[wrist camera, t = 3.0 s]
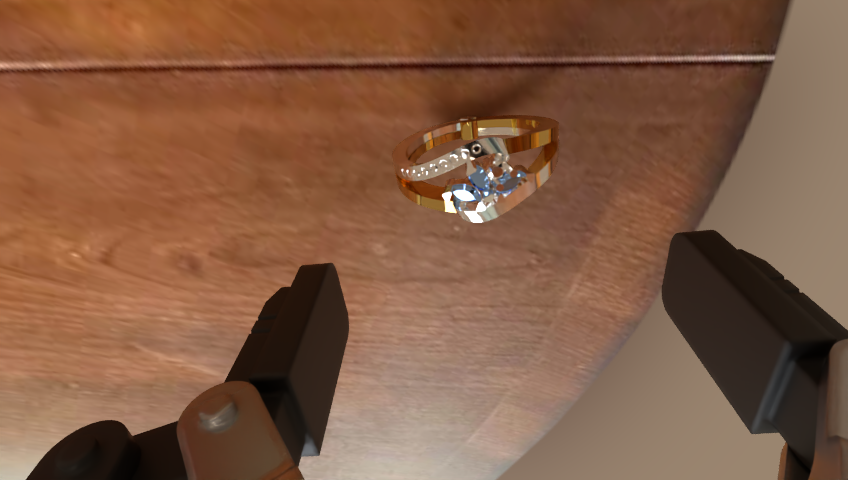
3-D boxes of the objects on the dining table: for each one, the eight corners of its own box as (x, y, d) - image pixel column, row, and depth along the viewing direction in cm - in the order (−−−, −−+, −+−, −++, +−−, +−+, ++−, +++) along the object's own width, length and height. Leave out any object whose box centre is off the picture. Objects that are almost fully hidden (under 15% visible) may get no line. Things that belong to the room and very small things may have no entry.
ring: (538, 82, 21) (588, 132, 14) (539, 146, 22) (583, 221, 16) (394, 101, 21) (374, 159, 15) (404, 163, 23) (390, 241, 16)
